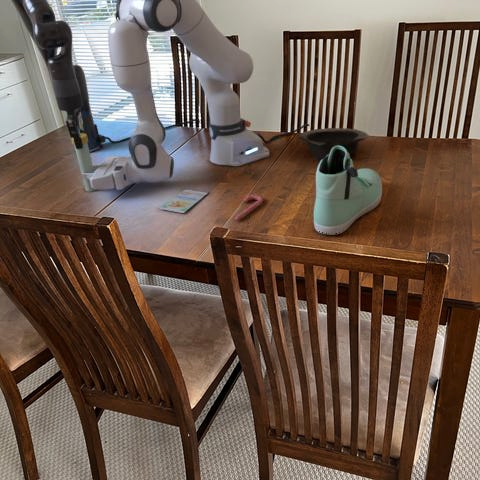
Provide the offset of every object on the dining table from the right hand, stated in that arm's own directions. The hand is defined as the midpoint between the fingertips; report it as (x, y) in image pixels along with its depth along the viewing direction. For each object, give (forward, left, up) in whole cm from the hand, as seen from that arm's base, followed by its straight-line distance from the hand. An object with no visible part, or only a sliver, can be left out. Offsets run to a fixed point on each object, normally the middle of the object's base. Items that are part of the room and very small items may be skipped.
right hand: (85, 172), depth 160 cm
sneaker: (-66, +56, -6) cm, 87 cm away
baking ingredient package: (-26, +26, -6) cm, 37 cm away
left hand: (-1, 0, +9) cm, 10 cm away
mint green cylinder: (-1, 0, -6) cm, 6 cm away
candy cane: (-41, +42, -6) cm, 58 cm away
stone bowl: (-86, +17, -6) cm, 88 cm away
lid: (-1, 0, +12) cm, 12 cm away
